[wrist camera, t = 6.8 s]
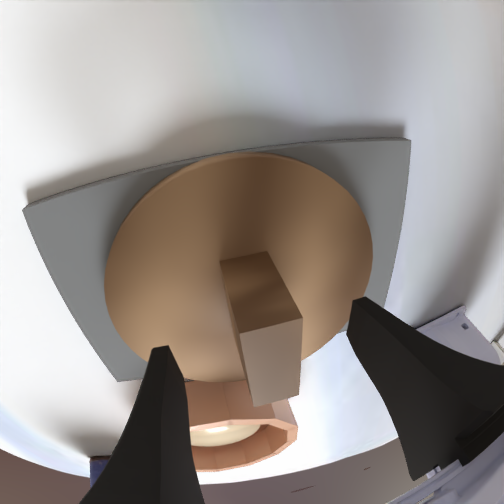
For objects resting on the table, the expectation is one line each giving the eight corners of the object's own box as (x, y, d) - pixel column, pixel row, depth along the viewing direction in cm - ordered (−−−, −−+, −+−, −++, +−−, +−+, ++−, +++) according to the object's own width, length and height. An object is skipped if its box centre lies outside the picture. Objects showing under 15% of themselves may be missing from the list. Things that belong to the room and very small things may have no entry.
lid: (372, 139, 11) (455, 175, 7) (347, 337, 19) (382, 394, 14) (67, 191, 10) (11, 259, 5) (157, 384, 17) (163, 453, 12)
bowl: (283, 360, 19) (300, 401, 16) (284, 424, 25) (294, 453, 23) (117, 391, 17) (116, 434, 14) (169, 447, 24) (173, 476, 21)
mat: (403, 137, 12) (411, 140, 12) (376, 312, 19) (380, 318, 18) (27, 204, 10) (22, 210, 9) (118, 374, 16) (117, 381, 16)
